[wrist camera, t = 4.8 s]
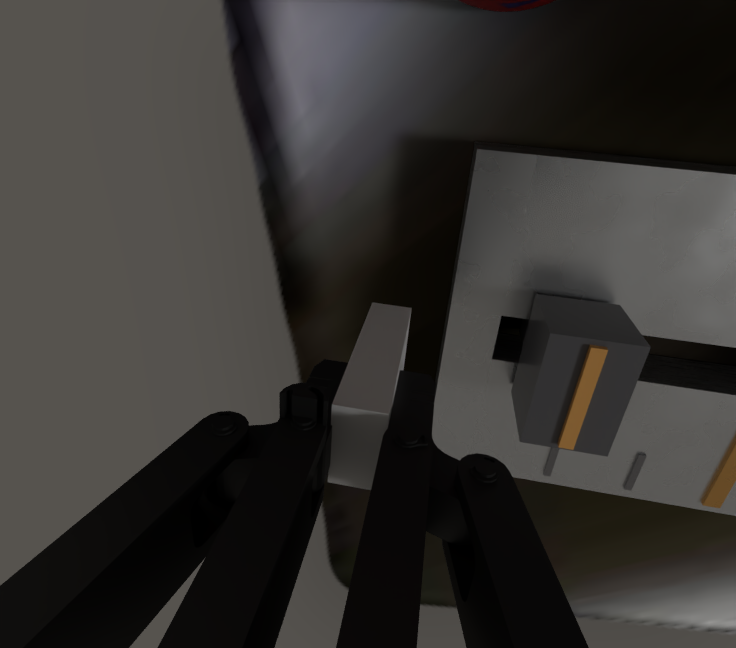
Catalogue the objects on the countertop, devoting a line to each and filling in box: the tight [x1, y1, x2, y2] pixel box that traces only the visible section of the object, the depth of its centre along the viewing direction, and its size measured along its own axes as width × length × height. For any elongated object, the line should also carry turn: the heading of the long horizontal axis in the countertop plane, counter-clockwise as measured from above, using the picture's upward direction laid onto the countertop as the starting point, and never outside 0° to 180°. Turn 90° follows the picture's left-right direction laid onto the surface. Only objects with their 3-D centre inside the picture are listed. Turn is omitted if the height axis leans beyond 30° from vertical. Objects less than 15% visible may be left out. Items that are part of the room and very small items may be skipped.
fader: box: [511, 294, 651, 457], centre depth 18 cm, size 4×3×6 cm
